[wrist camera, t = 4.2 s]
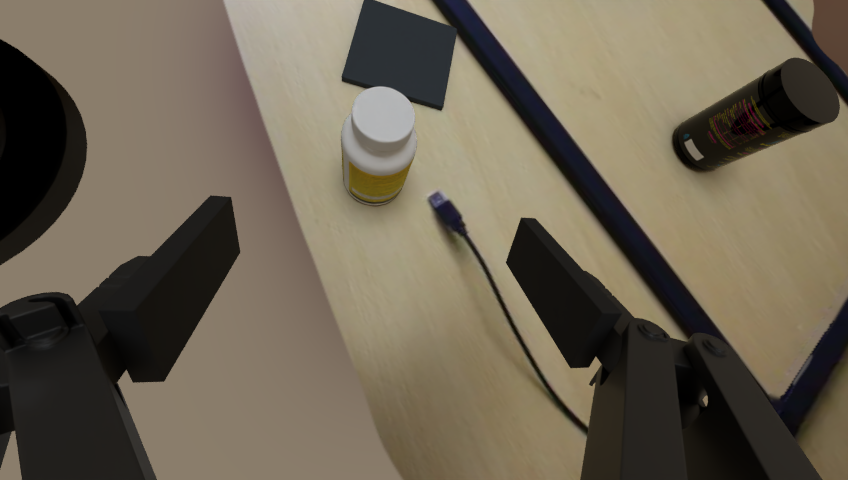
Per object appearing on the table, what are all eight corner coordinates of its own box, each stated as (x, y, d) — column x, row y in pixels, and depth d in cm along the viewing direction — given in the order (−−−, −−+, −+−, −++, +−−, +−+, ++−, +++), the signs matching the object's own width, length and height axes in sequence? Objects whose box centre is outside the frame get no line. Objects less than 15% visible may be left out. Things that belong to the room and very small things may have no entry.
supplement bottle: (413, 193, 30) (440, 137, 21) (358, 216, 28) (361, 166, 19) (387, 143, 31) (403, 67, 21) (332, 162, 29) (323, 89, 20)
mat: (341, 81, 31) (341, 76, 30) (364, 2, 34) (364, -4, 33) (441, 110, 33) (443, 106, 32) (455, 32, 35) (457, 28, 35)
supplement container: (726, 156, 40) (850, 103, 30) (697, 184, 38) (820, 136, 28) (691, 113, 40) (801, 46, 30) (660, 138, 38) (768, 75, 28)
